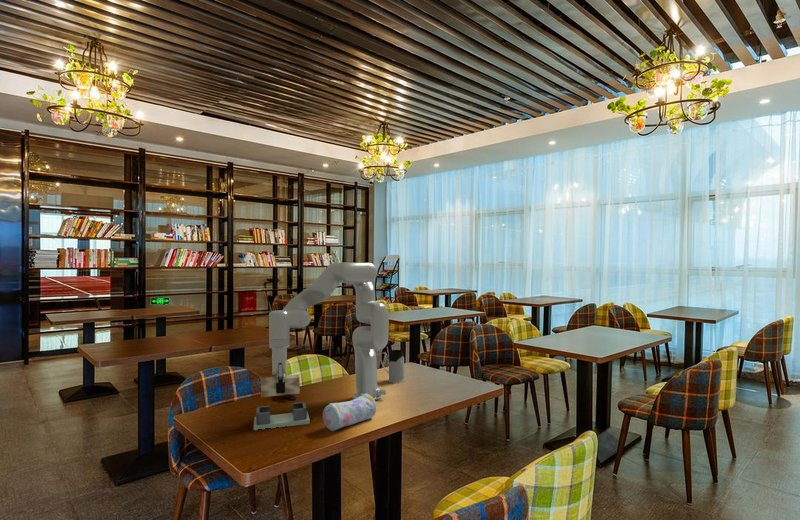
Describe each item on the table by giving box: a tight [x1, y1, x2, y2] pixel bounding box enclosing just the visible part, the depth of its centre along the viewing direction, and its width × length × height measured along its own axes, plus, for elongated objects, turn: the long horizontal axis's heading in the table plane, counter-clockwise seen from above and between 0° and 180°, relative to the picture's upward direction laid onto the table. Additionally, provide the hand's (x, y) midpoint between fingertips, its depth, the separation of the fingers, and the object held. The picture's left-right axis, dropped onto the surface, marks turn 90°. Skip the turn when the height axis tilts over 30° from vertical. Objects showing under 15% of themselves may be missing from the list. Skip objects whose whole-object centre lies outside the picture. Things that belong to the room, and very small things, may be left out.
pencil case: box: [322, 393, 377, 432], centre depth 171 cm, size 21×9×10 cm, turn 138°
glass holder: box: [379, 349, 406, 384], centre depth 235 cm, size 9×14×15 cm, turn 57°
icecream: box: [280, 394, 297, 401], centre depth 210 cm, size 7×7×15 cm
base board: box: [253, 411, 311, 431], centre depth 175 cm, size 20×11×2 cm, turn 106°
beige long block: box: [260, 374, 301, 398], centre depth 175 cm, size 14×5×6 cm, turn 107°
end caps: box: [255, 401, 308, 425], centre depth 175 cm, size 18×9×4 cm, turn 106°
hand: (280, 390), depth 175 cm, fingers closed on beige long block, 5 cm apart
